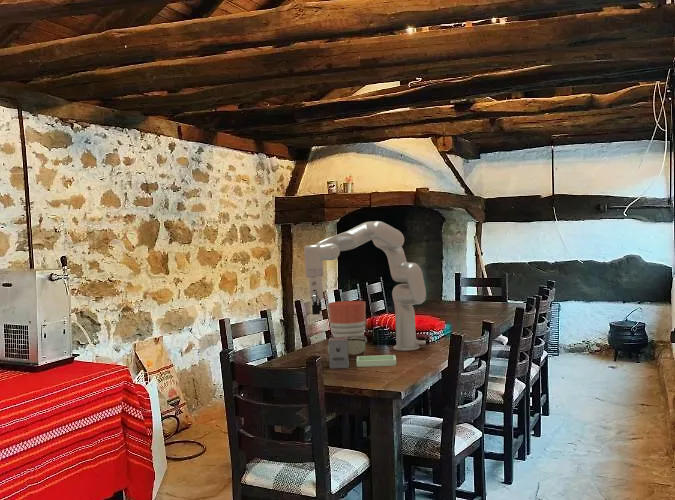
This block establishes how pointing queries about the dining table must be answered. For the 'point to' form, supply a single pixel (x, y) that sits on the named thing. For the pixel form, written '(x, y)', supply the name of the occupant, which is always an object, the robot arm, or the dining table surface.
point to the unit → (338, 352)
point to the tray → (376, 360)
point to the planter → (347, 318)
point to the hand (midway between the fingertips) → (317, 312)
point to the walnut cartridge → (327, 354)
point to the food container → (356, 346)
